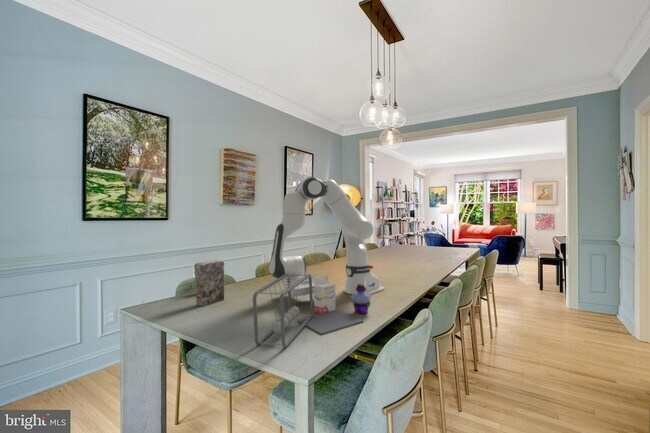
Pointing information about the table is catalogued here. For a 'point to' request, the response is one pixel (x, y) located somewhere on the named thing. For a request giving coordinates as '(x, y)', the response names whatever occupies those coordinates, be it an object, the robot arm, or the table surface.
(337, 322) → the mat
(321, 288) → the ink cartridge box
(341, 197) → the robot arm
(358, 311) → the potion bottle
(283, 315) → the newton's cradle
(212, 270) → the stone block
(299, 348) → the table surface
